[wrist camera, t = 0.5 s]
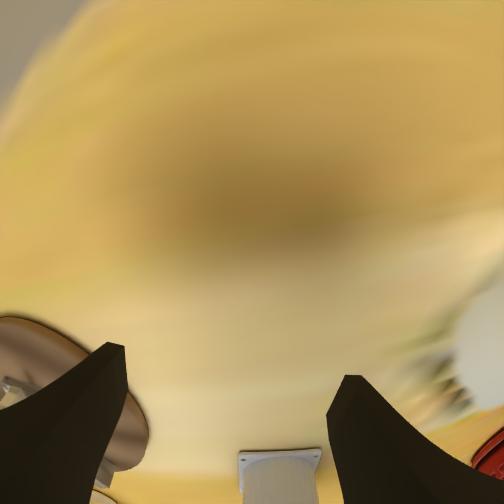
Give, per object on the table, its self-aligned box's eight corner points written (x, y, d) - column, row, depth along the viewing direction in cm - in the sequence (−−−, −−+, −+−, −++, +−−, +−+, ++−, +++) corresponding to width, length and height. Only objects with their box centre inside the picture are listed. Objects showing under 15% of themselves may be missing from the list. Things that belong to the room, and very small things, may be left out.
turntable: (166, 474, 26) (160, 506, 22) (25, 438, 26) (12, 461, 22) (119, 330, 20) (96, 372, 15) (-43, 305, 19) (-69, 327, 15)
